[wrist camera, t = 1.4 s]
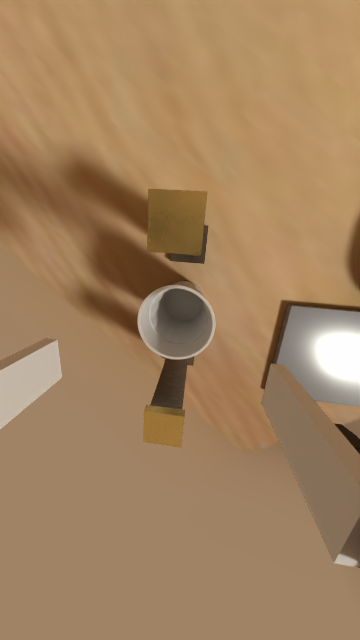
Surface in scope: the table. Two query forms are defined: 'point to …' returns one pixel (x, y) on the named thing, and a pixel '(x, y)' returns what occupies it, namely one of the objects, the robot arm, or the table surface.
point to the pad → (322, 352)
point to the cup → (176, 321)
